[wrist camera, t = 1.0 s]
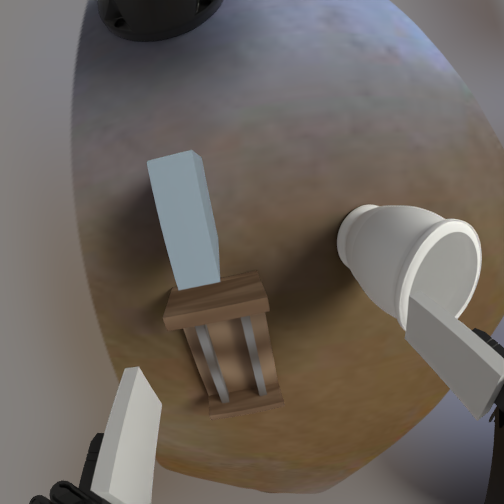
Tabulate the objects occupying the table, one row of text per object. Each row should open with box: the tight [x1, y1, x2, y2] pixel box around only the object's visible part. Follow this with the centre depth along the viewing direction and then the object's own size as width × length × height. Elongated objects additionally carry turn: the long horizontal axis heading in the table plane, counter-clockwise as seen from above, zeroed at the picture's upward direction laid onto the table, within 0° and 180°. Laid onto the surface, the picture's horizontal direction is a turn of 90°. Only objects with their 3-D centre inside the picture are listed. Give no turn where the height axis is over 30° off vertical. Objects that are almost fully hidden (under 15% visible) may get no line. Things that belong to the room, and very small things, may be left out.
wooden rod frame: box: [163, 270, 285, 420], centre depth 31 cm, size 18×10×7 cm, turn 10°
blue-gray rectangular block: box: [147, 150, 220, 290], centre depth 24 cm, size 9×3×12 cm, turn 10°
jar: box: [337, 205, 482, 331], centre depth 26 cm, size 11×10×15 cm
